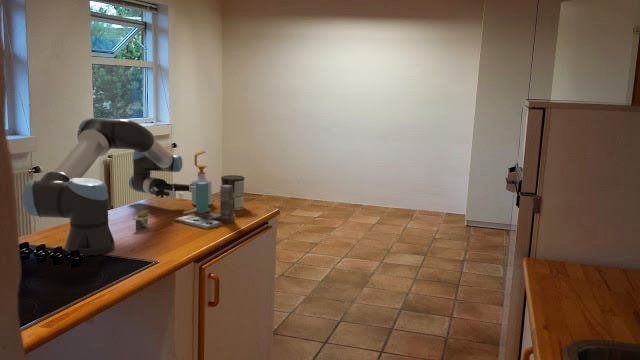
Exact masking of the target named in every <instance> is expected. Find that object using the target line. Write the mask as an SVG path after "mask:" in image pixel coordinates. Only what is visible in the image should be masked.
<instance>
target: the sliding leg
mask: <svg viewBox="0 0 640 360" xmlns="http://www.w3.org/2000/svg"><path fill="white" fill-rule="evenodd" d="M211 211H212V209H211V208H209V205H208V183H205V182H199V183H196V205H195V208H193V209H191V210H186V211H183V212H182V213H183V214H190V213H194V212H199V213H205V212H211Z"/></svg>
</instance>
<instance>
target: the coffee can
mask: <svg viewBox="0 0 640 360" xmlns="http://www.w3.org/2000/svg"><path fill="white" fill-rule="evenodd" d="M220 179H221V183H220V184H221V185H220V186H222V185H232V186H233V211H240V210H243V209H244V208H245V206H244V205H245V176H243V175H233V174H232V175H228V174H227V175H222V176H221V178H220Z"/></svg>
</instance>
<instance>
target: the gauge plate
mask: <svg viewBox="0 0 640 360" xmlns="http://www.w3.org/2000/svg"><path fill="white" fill-rule="evenodd" d="M174 222H176V223H180V224H185V225H187V226H188V225H189V226H193V227H197V228H201V229H204V230H210V229H213V228H218V227H222V226H223V223H222V222H218V221H213V220H209V219H205V218H200V217H196V216H195V215H191V214H189V215H184V216H180V217H179V216H178V217H174Z"/></svg>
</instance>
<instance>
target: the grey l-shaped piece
mask: <svg viewBox="0 0 640 360" xmlns="http://www.w3.org/2000/svg"><path fill="white" fill-rule="evenodd" d="M221 185H222V184H221ZM221 185H220V189H219V191H220V194H219V195H220V198H219V199H220V202H219V203H220V205H219V207H220V213H215V212H211V211H209V212H205V213H199V212H195V213H194V216H196V217H200V218H205V219H209V220H213V221H218V222H222V224H226V225H230V224H234V223H236V221H235V220H236V218H237V217H236V214H234V210H233V186H232V185H222V186H221Z"/></svg>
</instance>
